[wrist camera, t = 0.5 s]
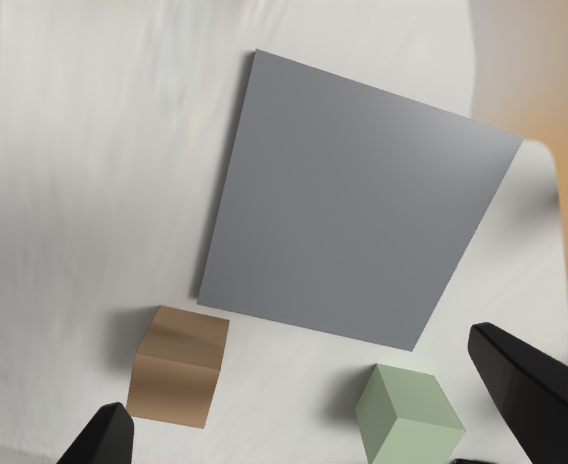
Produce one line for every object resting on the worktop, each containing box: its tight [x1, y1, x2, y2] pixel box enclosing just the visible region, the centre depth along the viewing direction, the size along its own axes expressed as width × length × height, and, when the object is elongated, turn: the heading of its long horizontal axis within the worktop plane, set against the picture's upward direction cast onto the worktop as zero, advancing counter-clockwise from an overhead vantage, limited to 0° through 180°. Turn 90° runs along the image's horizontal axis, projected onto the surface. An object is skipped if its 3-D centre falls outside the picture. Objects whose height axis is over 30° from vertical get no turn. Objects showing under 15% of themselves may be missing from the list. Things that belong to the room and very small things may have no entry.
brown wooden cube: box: [126, 306, 230, 429], centre depth 24 cm, size 5×5×5 cm
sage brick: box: [354, 363, 466, 464], centre depth 26 cm, size 5×5×5 cm
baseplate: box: [197, 49, 525, 352], centre depth 22 cm, size 16×16×1 cm
